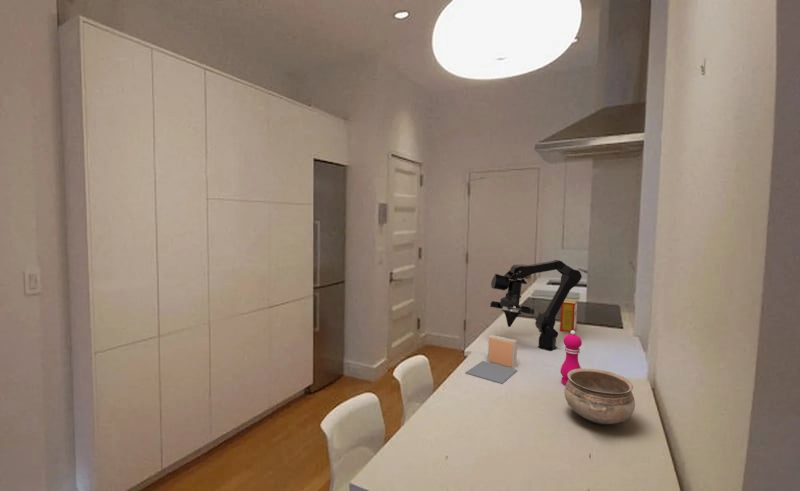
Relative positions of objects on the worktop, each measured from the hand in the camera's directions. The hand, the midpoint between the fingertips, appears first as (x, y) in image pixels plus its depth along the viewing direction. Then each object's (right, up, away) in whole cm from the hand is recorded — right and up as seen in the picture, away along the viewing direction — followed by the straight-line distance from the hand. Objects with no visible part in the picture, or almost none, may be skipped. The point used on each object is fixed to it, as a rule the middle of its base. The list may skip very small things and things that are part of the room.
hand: (509, 326), depth 173 cm
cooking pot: (+11, -16, -56) cm, 60 cm away
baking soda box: (+41, -9, +33) cm, 54 cm away
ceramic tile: (-7, -12, -14) cm, 20 cm away
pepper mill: (+13, -14, -32) cm, 38 cm away
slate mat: (-13, -13, -22) cm, 29 cm away
